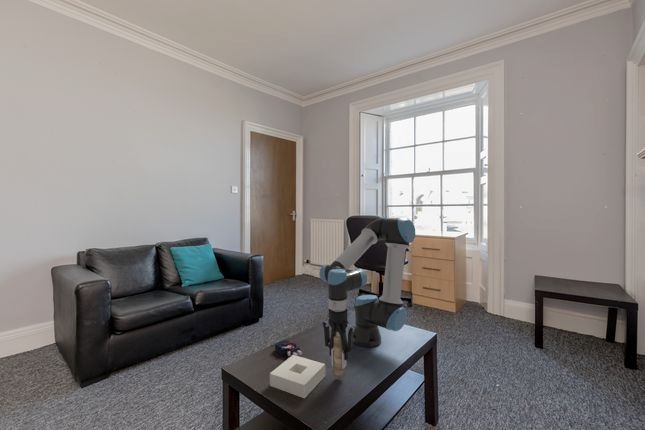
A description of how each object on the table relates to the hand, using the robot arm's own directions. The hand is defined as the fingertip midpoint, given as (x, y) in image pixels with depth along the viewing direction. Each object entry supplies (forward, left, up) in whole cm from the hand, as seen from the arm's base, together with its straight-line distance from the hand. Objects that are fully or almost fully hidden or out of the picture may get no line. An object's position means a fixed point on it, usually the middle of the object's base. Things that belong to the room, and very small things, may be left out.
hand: (339, 365), depth 118 cm
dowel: (0, 0, -4) cm, 4 cm away
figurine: (-8, -30, -6) cm, 32 cm away
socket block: (+8, -14, -6) cm, 17 cm away
